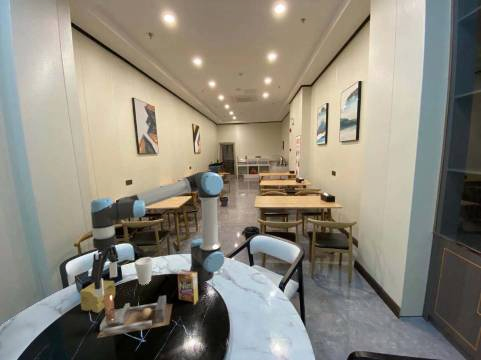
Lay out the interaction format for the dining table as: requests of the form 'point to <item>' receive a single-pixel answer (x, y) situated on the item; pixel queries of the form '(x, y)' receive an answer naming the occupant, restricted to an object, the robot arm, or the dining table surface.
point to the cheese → (94, 302)
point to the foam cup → (144, 270)
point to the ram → (114, 313)
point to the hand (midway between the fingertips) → (107, 285)
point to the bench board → (136, 320)
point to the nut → (146, 313)
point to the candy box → (188, 286)
